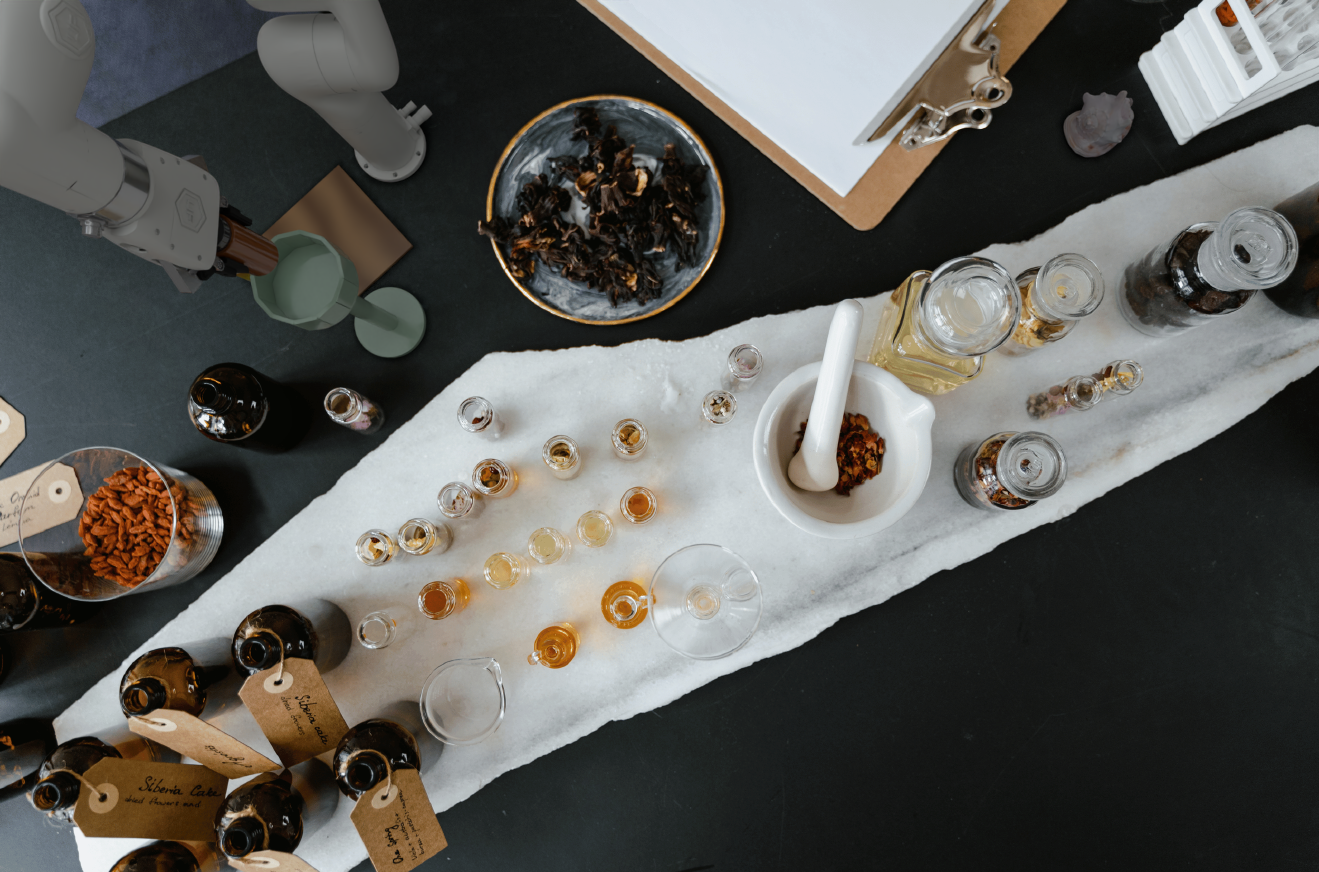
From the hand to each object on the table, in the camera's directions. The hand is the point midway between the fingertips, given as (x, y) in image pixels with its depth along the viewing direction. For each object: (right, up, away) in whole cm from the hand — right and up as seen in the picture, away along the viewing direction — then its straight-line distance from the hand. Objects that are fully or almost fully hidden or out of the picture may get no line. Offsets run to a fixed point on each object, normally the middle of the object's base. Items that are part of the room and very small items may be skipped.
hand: (237, 246), depth 76 cm
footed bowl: (+1, -2, +41) cm, 41 cm away
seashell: (+124, +32, +39) cm, 134 cm away
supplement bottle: (-23, +8, +42) cm, 49 cm away
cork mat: (-9, +12, +42) cm, 44 cm away
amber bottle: (0, 0, +4) cm, 4 cm away
